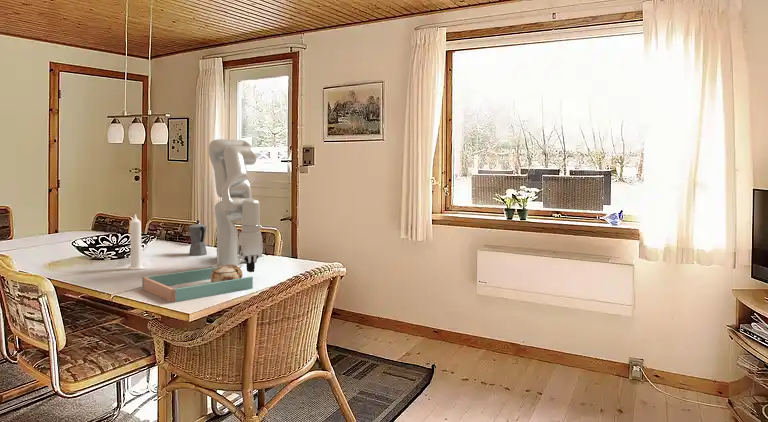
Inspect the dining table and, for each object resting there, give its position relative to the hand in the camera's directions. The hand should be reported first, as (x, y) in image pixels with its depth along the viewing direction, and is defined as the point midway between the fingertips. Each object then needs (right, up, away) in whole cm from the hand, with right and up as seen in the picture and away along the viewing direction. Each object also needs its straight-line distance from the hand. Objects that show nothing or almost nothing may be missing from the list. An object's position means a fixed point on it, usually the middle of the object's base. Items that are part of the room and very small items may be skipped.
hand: (250, 271), depth 233 cm
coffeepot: (-41, +3, +54) cm, 68 cm away
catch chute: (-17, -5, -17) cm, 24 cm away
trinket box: (-8, -5, -7) cm, 12 cm away
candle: (-56, -1, +17) cm, 59 cm away
